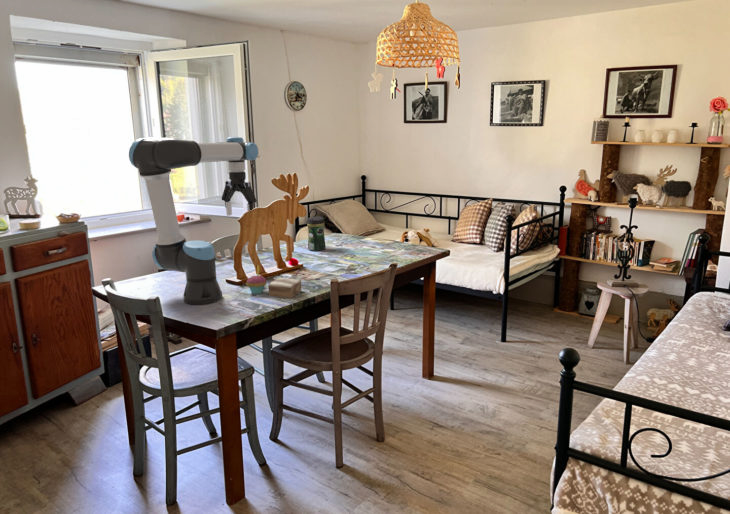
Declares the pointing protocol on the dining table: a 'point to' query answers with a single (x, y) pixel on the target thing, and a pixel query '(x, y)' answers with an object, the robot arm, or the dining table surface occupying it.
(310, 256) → the dining table surface
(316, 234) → the coffee jar
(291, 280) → the pedestal
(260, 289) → the cupcake
